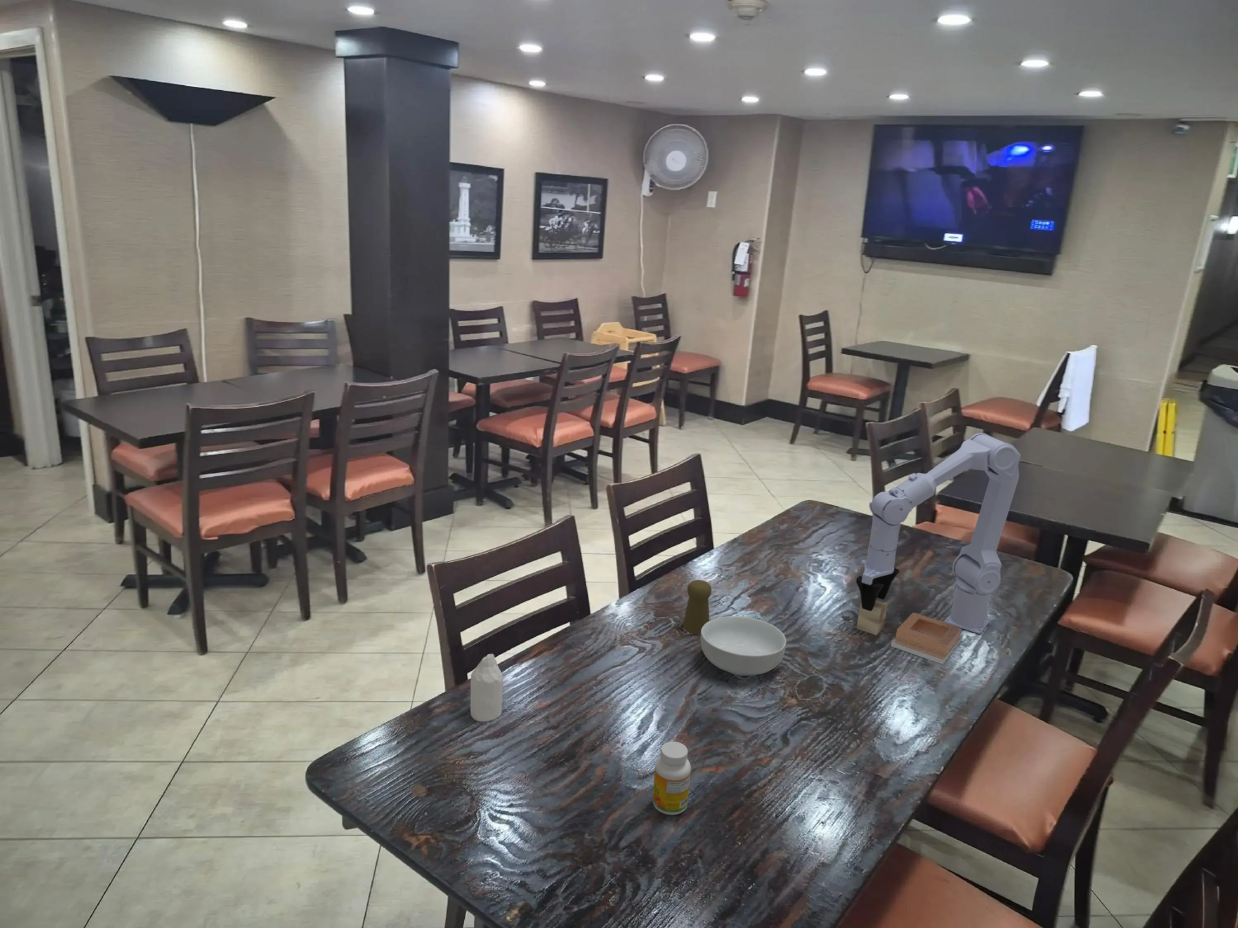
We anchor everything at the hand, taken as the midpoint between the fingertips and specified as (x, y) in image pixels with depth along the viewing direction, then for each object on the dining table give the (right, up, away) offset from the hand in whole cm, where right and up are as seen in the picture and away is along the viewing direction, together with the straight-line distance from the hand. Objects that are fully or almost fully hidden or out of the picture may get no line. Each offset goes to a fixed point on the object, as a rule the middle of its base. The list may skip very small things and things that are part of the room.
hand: (873, 603), depth 180 cm
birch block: (0, -6, +2) cm, 6 cm away
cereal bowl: (-32, -10, -16) cm, 37 cm away
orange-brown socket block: (+10, -8, -4) cm, 14 cm away
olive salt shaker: (-40, -5, -2) cm, 40 cm away
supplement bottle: (-49, -21, -56) cm, 77 cm away
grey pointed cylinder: (-80, -13, -36) cm, 89 cm away
